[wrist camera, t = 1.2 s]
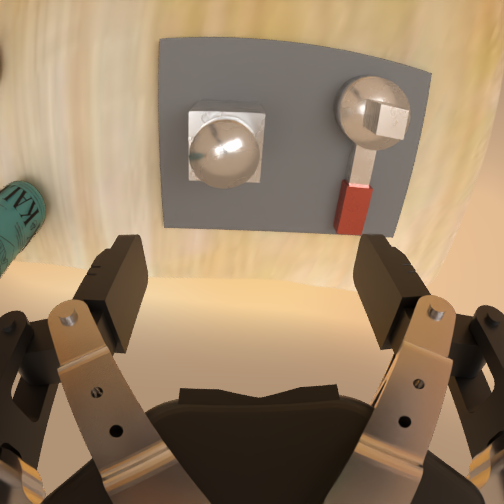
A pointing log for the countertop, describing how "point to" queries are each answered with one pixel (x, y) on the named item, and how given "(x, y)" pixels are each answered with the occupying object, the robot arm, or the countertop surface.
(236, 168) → the metal block with knob
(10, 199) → the beverage bottle
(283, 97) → the tool mat
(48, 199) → the countertop surface
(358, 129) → the ratchet
